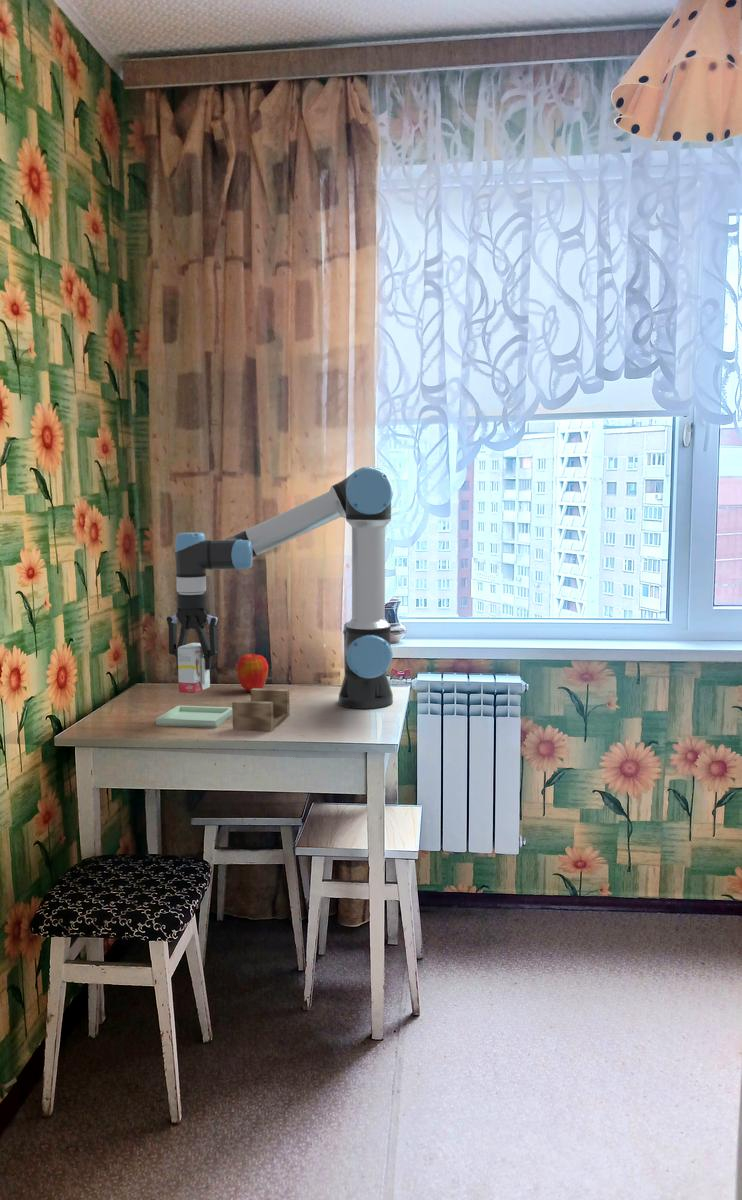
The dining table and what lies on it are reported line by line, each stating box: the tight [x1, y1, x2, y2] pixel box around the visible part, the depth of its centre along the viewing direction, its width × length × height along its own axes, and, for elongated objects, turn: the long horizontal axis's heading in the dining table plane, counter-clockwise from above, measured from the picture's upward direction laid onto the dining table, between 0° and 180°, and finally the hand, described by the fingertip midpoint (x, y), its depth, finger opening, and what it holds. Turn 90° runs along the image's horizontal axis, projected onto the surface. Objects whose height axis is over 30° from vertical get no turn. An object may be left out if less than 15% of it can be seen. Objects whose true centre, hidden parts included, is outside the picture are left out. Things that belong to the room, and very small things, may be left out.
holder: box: [231, 688, 291, 732], centre depth 235 cm, size 10×16×7 cm, turn 168°
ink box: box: [177, 642, 211, 694], centre depth 237 cm, size 9×5×12 cm, turn 161°
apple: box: [236, 652, 269, 693], centre depth 270 cm, size 9×9×12 cm
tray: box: [155, 705, 233, 729], centre depth 239 cm, size 16×14×2 cm
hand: (194, 681), depth 238 cm, fingers closed on ink box, 5 cm apart
